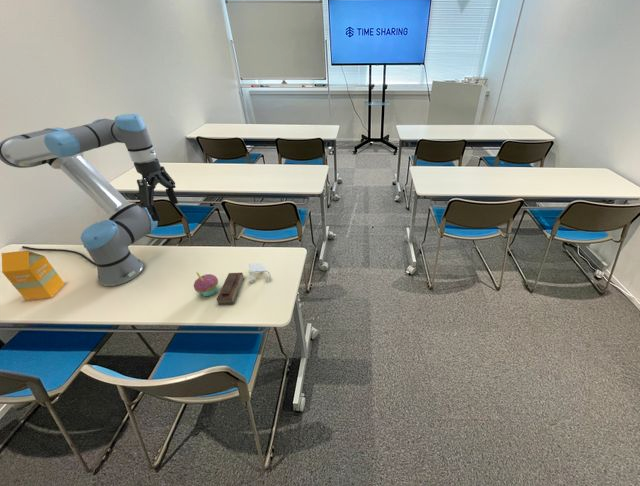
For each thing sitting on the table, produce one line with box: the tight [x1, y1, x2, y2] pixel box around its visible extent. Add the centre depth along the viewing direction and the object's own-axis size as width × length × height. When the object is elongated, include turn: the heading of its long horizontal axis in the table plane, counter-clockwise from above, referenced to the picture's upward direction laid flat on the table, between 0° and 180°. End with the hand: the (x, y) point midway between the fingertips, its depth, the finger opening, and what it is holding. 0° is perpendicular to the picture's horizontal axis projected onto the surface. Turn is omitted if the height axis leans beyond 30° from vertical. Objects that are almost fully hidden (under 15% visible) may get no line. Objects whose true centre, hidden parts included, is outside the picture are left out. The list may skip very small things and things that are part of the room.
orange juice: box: [1, 250, 65, 301], centre depth 110 cm, size 8×9×20 cm
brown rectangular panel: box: [216, 272, 245, 306], centre depth 114 cm, size 14×6×4 cm, turn 3°
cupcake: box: [193, 271, 219, 297], centre depth 112 cm, size 9×8×12 cm
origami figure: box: [247, 263, 272, 283], centre depth 120 cm, size 12×8×5 cm
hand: (166, 211), depth 115 cm, fingers open, 13 cm apart
